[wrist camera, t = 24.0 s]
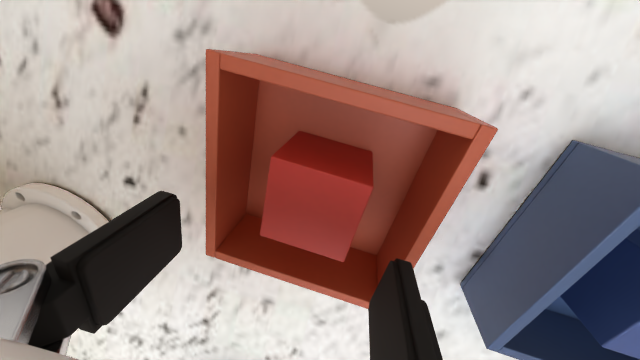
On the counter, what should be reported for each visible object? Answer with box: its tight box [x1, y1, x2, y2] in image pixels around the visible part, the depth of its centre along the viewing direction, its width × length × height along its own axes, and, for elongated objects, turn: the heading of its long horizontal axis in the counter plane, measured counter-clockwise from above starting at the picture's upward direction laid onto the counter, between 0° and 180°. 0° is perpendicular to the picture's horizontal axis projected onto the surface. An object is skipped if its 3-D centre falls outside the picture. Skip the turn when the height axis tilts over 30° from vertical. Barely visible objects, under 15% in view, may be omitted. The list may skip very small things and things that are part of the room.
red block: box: [260, 131, 374, 262], centre depth 13 cm, size 4×4×4 cm
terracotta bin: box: [206, 49, 498, 309], centre depth 13 cm, size 11×11×4 cm
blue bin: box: [460, 140, 640, 360], centre depth 12 cm, size 11×11×4 cm
